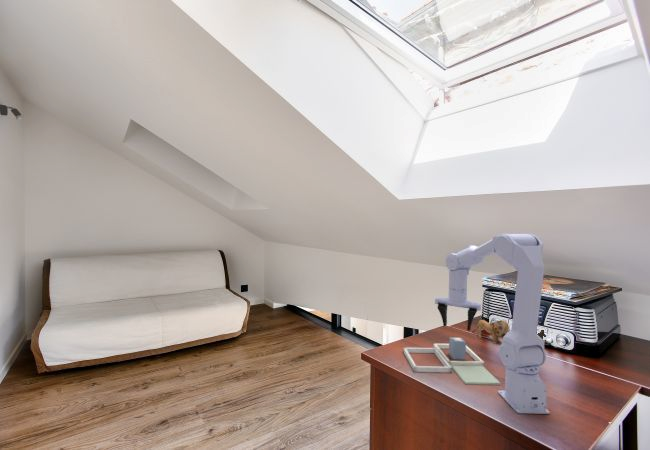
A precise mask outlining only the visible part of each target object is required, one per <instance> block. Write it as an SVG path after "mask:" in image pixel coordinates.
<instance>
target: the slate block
mask: <svg viewBox="0 0 650 450" xmlns="http://www.w3.org/2000/svg"><path fill="white" fill-rule="evenodd" d="M448 342H449V343H448V344H449V349H448V355H449V356H450V357H451V358H452V359H453V360H463V361H466V355H467V354H466V353H467V352H466V346H467V342H466V341H465V340H464V339H463V338H462V337H454V336H453V337H452V336H451V337H449V341H448Z"/></svg>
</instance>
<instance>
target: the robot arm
mask: <svg viewBox="0 0 650 450" xmlns="http://www.w3.org/2000/svg"><path fill="white" fill-rule="evenodd" d="M543 248H544V243H543V242H542V241H541V240H540V238H539V237H538V236H537V235H535V234H533V233H499V234H497V235H495V236H493V237H492V239H490V240H488V241H486V242H484V243H483V244H481V245H479V246H477V245H473V244H469V245H467V246H466V248H465V249H460V250H458V252H457V253H454V252H449V254H447V256H446V257H445V265H446V267H447V269H448V298H446V297H435V298H434V304H435V305H437V310H438V312H439V314H440V317H441V320H442V325H443V327H446V326H447V325H448V319H447V316H448V314H447V313H448V306H451V307H456V308H462V309H468V310H467V327H466V328H467V329H466V331H469V332H471V328H472V327H471V326H472V324H473V320H474V318H475V317H476V314H477V312H479V311H480V312H481V310H482V303H477V302H474V301H468V300H467V298H468V292H467V291H468V276H469V274H470V270H471V268H472V267H473V266H476V265H478V264H481V263H482V262H483V261H484V259H485V258H486V257H487V256H491V255H493V254H497V255H498V256H499V257H500V258H501V259H502V260H503V261H505V262H506V263H508V264H509V265H510V266H511V267H513V268H514V269H515V271H517V276H516V286H515V287H516V288H515V295H514V304H513V313H512V323H511V329H509V331H508V332H507V333H506V334H504V335H503V336H502V337H503V338H502V342H501V344H500V346H499V348H498V356H499V359H500V361H501V362H502V363H503V366H504V367H505V382H504V390H502V389H501V390H500V389H499V390H497V393H498V394H499V396H501V397H502V399H504V400H505V401H506V403H508V405H509V406H511V408H512V409H513V410H514V411H515V412H516V413H518V414H538V415H539V414H540V415H541V414H544V415H546V414H547V415H548V414H550V411H549V409H548V408H547V400H548V399H547V392H548V390H547V386H546V384H545V383H544V381H543V380H542V379H541V377H540V375H539V371H541V366H543V365H544V364H546V361H547V353H546V350H545V349H546V348H545V342H546V341H543V340H542V339H541V338H540V337H539V336H538V335H537V330H538V329H537V326H538V325H539V316H540V307H541V299H542V291H543V285H544V284H543V283H544V276H545V275H544V274H545V264H544V261H543Z"/></svg>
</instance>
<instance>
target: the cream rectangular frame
mask: <svg viewBox="0 0 650 450" xmlns="http://www.w3.org/2000/svg"><path fill="white" fill-rule="evenodd" d="M432 346H433V347H432V348H436V349H437V350H438V351H439V352H440V354H441V355H442V356H443V357H444V359H445V360H446V361H447V362H448V363H449V365H450V366H451V367H452V366H483V367H484V368H485V361H484V360H483V359H482V358H480V356H478V355H477V353H475V352H474V350H472V349H471V348H470V347H468V345H466V353H467V354H468V355H469V356H470V357H471V358H472V359H473V360H450V359H449V357H447V355H446V354H445V353H444V352H443V350H442V349H445V350H447V349H448V350H449V343H433V345H432Z"/></svg>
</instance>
